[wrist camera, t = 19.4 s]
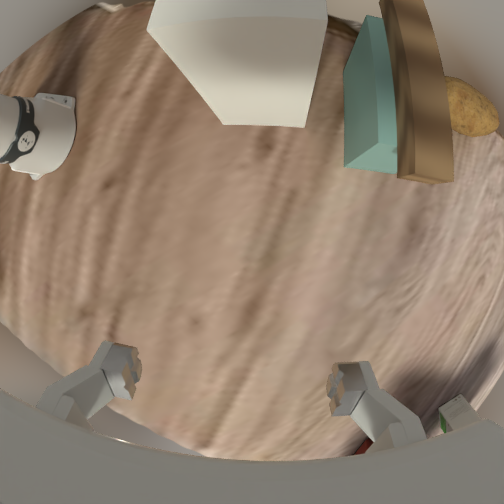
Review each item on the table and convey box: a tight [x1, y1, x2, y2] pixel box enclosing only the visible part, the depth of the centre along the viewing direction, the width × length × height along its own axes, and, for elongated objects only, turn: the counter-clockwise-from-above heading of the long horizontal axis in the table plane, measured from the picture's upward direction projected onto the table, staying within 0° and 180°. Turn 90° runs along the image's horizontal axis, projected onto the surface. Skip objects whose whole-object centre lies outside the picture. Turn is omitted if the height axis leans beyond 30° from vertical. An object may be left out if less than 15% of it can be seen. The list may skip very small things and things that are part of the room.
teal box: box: [343, 15, 397, 174], centre depth 29 cm, size 8×16×16 cm, turn 177°
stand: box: [147, 0, 328, 128], centre depth 24 cm, size 12×18×26 cm, turn 177°
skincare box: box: [438, 394, 481, 434], centre depth 34 cm, size 8×7×16 cm
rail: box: [379, 0, 454, 184], centre depth 19 cm, size 22×4×4 cm, turn 177°
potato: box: [444, 76, 499, 137], centre depth 30 cm, size 10×14×8 cm
